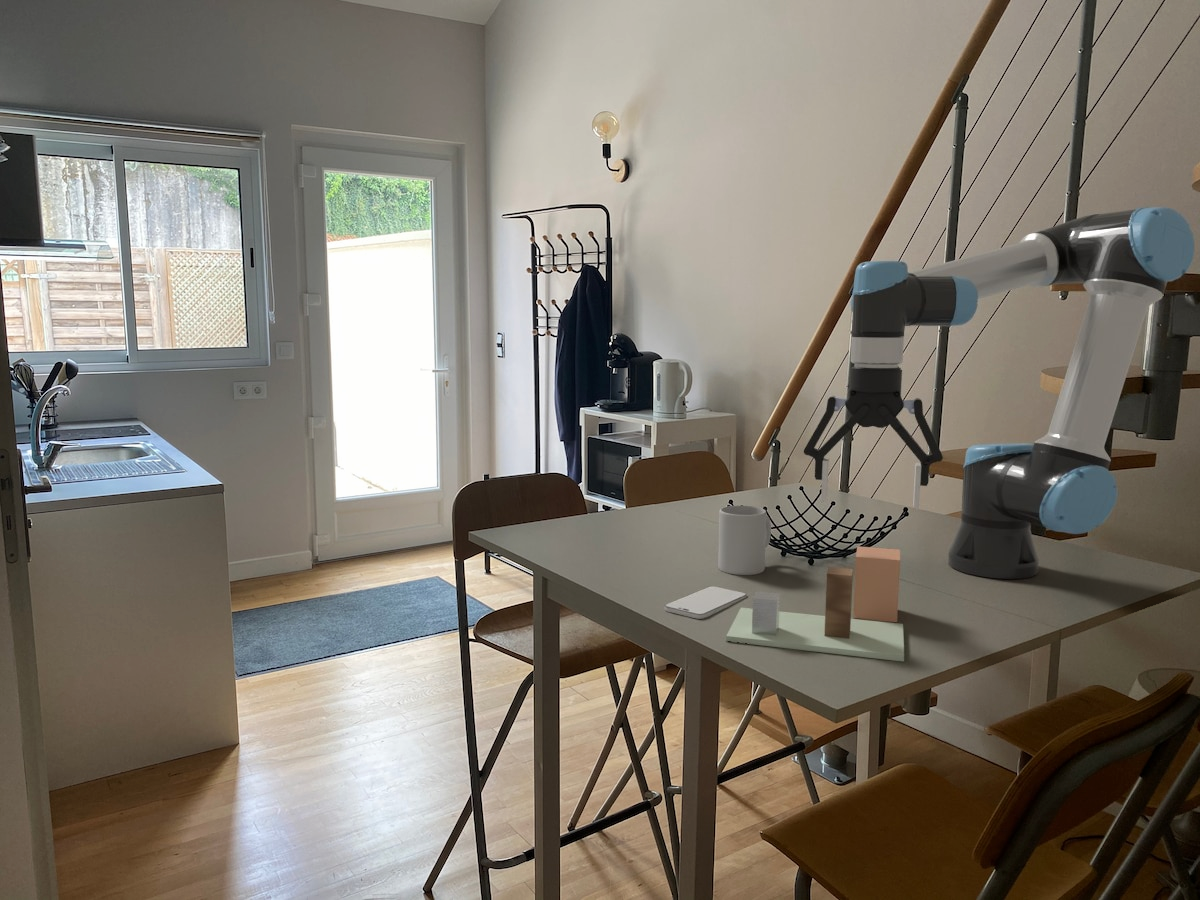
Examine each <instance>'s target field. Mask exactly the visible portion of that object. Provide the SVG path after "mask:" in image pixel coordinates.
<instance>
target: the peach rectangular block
mask: <svg viewBox="0 0 1200 900" xmlns="http://www.w3.org/2000/svg"><path fill="white" fill-rule="evenodd" d="M854 568H855V570H854V573H855V574H854V589H853V591H854V592H853V609H852V610H853V611H852V613H853V614H852V615H853V616H852V619H859V620H869V621H878V622H888V623H898V612H899V611H898V609H899V595H900V594H899V593H900V592H899V590H900V589H899V588H900V572H901V549H897V548H896V549H895V548H884V547H883V548H881V547H870V546H858V545H857V546H856V554H855V567H854Z"/></svg>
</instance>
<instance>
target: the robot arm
mask: <svg viewBox="0 0 1200 900" xmlns="http://www.w3.org/2000/svg"><path fill="white" fill-rule="evenodd" d="M1195 247H1196V246H1195V238H1194V234H1193V231H1192V229H1191V227H1190V224H1189V222H1188V220H1187V219H1186V218H1185V217H1184V216H1183V214H1181V213H1180V212H1179V211H1178V210H1175V209H1173V208H1170V207H1166V206H1158V207H1157V206H1155V207H1150V206H1143V207H1139V208H1137V209H1128V210H1121V211H1115V212H1113V211H1112V212H1105V213H1097V214H1089V215H1085V216H1081V217H1078V218H1075V219H1071V220H1069V221H1065V222H1063V223H1061V224H1060V223H1059V224H1057V225H1054V226H1051V227H1049V228H1046V229H1043V230H1039V231H1036V232H1032V233H1029V234H1027V235H1025V236H1024V237H1022V238H1021V239H1020V241H1019V242H1018V243H1014V244H1011V245H1006V246H1003V247H999V248H996V249H991V250H987V251H984V252H981V253H976V254H972V255H969V256H966V257H962V258H958V259H955V260H950V261H947V262H943V263H938V264H935V265H931V266H927V267H924V268H921V269H920V268H919V269H917V270H913V271H910V272H908V265H907V263H906V261H905V262H904V261H901V260H900V261H898V260H872V261H864V262H861V263H859V264H858V265H857V266H856V268H855V274H854V280H853V281H854V282H853V289H852V293H851V294H852V295H851V298H850V308H851V312H852V320H851V321H852V322H851V323H852V325H851V327H852V328H851V341H850V344H851V345H850V363H852V364H854V366H851V368H850V369H849V389H848V390H849V391H848V396H847V398H842V397H836V396H835V395H831V396H829V397H828V399H827V402H826V407H825V412H824V414H823V416H822V417H821V419H820V421H819V423H818V424H817V426H816V428H815V429H814V432H813V433H812V435H811V436H810V438H809V440H808V442H807V444H806V445H805V447H804V449H803V453H804V455H806V456H809V457H811V458H813V459H814V461H815V464H814V478H815V480H816V481H818V480H820V481H821V490H820V491H821V493H820V494H821V496H820V503H826V502H827V500H828V489H829V487H828V485H829V467H830V466H829V463H830V462H829V461H830V458H828V457H826V456H827V454H828V453H829V452H830V451H831V450H833V448H834V447H836V445H837V444H838V443H839V442H840V441H841V440H842V439H844V438H843V437H845V436H846V435H847V434H848V433H849V432H850V430H852V429H853V428H854V427H855V426H856V425H859V426H860V427H862V428H870V427H875V428H878V429H879V428H880V429H881V428H882V429H884V428H886V427H888V426H890V427H891V428H892V429H893V430H894V432H895V433H896V434H897V435H898V436H899V437H900V439H901V440H902V442H903V443H904V444H905V445H906V446H907V447H908V448H909V450H910V451H911V452H912V453H913V455H914V456H915V457H916V458H917V459H918V461H919V462H915V465H914V481H913V483H914V485H913V500H912V501H913V502H912V504H913V505H912V506H913V508H914V509H920V497H921V495H920V494H921V487H923V486H924V487H927V486H928V484H929V479H930V467H931V465H932V464H934V463H937V462H941V461H943V454H942V452H941V449H940V447H939V445H938V443H937V441H936V439H935V436H934V434H933V432H932V430H931V428H930V426H929V424H928V421H927V419H926V417H925V415H924V410H923V409H924V408H923V407H924V406H923V401H922V399H921V398H919V397H916V398H915V399H906V400H904V399H902V381H903V378H902V377H903V370H902V368H901V367H899V365H901V364H902V363H903V360H904V359H903V357H904V345H905V344H904V340H905V330H906V329H905V328H906V327H910V326H913V327H915V326H916V327H917V326H918V327H945V328H946V327H947V328H949V327H952V326H953V327H954V326H962V325H966V324H967V323H968V322H969V321H971V320H972V318H973V317H974V316H975V314H976V311H977V308H978V302H979V301H978V300H980V299H985V298H988V297H991V296H995V295H998V294H1002V293H1006V292H1010V291H1013V290H1017V289H1020V288H1024V287H1027V286H1030V287H1032V288H1039V289H1041V288H1044V287H1048V286H1049V287H1050V286H1052V285H1059V284H1061V285H1062V284H1064V285H1065V284H1083V288H1084V289H1085V291H1086V292H1087V294H1088V295H1089V300H1088V302H1087V305H1086V309H1085V312H1084V314H1083V319H1082V321H1081V324H1080V327H1079V332H1078V334H1077V338H1076V340H1075V344H1074V347H1073V351H1072V354H1071V356H1070V360H1069V363H1068V366H1067V370H1066V373H1065V376H1064V379H1063V382H1062V386H1061V389H1060V392H1059V395H1058V398H1057V401H1056V406H1055V408H1054V411H1053V415H1052V418H1051V421H1050V425H1049V428H1048V431H1047V433H1046V434H1045V435H1044V436H1043V437H1040V438H1039V439H1036V440H1035V441H1034V443H989V444H988V443H987V444H986V443H984V444H983V443H982V444H974V445H971V446H969V448H967V450H966V452H965V459H964V464H963V467H962V468H963V470H962V471H963V474H962V475H963V476H962V477H963V478H962V492H961V493H962V496H961V497H962V499H961V515H960V524H959V527H958V528H957V531H956V534H955V536H954V539H953V542H952V543H951V545H950V549H949V551H948V559H947V560H948V565H949V566H950V567H951V568H953V569H955V570H957V571H959V572H962V573H964V574H969V575H974V576H976V577H977V576H978V577H984V578H991V579H992V578H993V579H1002V580H1004V579H1006V580H1008V579H1010V580H1012V579H1015V580H1016V579H1018V580H1019V579H1027V578H1028V579H1029V578H1031V577H1034V575H1035V576H1037V575H1038V573H1039V557H1038V553H1037V549H1036V546H1035V543H1034V538H1033V535H1032V531H1031V527H1032V526H1031V524H1033V525H1036V526H1039V527H1043V528H1046V529H1048V530H1050V531H1054V532H1055V533H1056V532H1058V533H1066V534H1072V535H1080V534H1086V533H1088V532H1091V531H1093V530H1094V529H1095V528H1097V527H1099V526H1101V525H1102V524H1103V523H1104V522H1105V521H1106V520H1107V519H1108V518H1109V517H1110V515H1112V514H1111V513H1112V512H1113V510H1114V508H1115V507H1116V506H1115V505H1116V503H1117V501H1118V500H1117V499H1118V493H1119V491H1118V490H1119V489H1118V486H1116V484H1117V480H1116V477H1115V476H1114V474H1113V473H1111V471H1110V470H1109V468H1110V464H1111V458H1110V456H1109V455H1108V453H1107V450H1106V449H1105V444H1106V442H1107V438H1108V435H1109V432H1110V429H1111V426H1112V422H1113V419H1114V417H1115V413H1116V410H1117V407H1118V403H1119V400H1120V397H1121V394H1122V391H1123V388H1124V385H1125V381H1126V378H1127V375H1128V372H1129V369H1130V365H1131V362H1132V359H1133V356H1134V353H1135V349H1136V347H1137V343H1138V340H1139V337H1140V333H1141V330H1142V328H1143V324H1144V320H1145V317H1146V315H1147V311H1148V309H1149V308H1148V307H1150V306H1151V305H1153V304H1154V303H1155V304H1156V302H1158V301H1160V300H1162V299H1163V296H1164V294H1165V291H1166V287H1167V284H1168V282H1174V281H1175V280H1178V279H1180V278H1181V277H1182V276H1183V275H1185V274H1186V273H1187V272H1188V270H1189V269H1190V267H1191V266H1192V263H1193V260H1194V256H1195V250H1196V249H1195ZM842 407H845V408H846V410H847V411H848V412H849V414H850V415H851V416H849V418H847V420H846V421H845V422H844V423H843V424H842V425H841V426H840V427H839V429H837V430H836V431H835V432H834V434H833V435H831V437H830V438H829V439H828V440H827V441H826V442H825V443H824V444H823V445H822V446H821V447H820V448H819V449H818V448H815V447H816V445H817V444H818V442H819V440H820V438H821V437H822V435H823V433H824V431H825V430H826V428H827V426H828V424H829V422H830V421H831V419H832V418H833V416H834V414H835V412H839V411H840V410H841V408H842ZM905 408H906V409H907V411H908V413H909V414H910V415H914V418H915V421H916V423H917V425H918V426H919V429H920V431H921V433H922V436H923V437H924V441H926V443H927V445H928V446H927V447H928V449H929V450H930V452H931V453H929V454H927V453H926V452H925V451H924V450H923V448H922V447H921V446H920V445H919V443H918V442H917V441H916V440H915V438H914V437H913V436H912V435H911V434H910V433H909V431H908V429H906V428H905V426H904V425H903V424H902V422H901V421H900V420H899V419H898V418H897V416H899V414H900V413H901V412H902V411H903V409H905ZM825 457H826V458H825Z"/></svg>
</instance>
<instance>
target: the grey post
mask: <svg viewBox="0 0 1200 900" xmlns="http://www.w3.org/2000/svg"><path fill="white" fill-rule="evenodd" d="M780 596H781V594H780V593H778V592H767V591H755V593H754V596H753V597H752V609H753V612H752V633H756V634H765V635H774V636H776V634H777V631H778V628H779V611H780V599H781V597H780Z"/></svg>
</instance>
